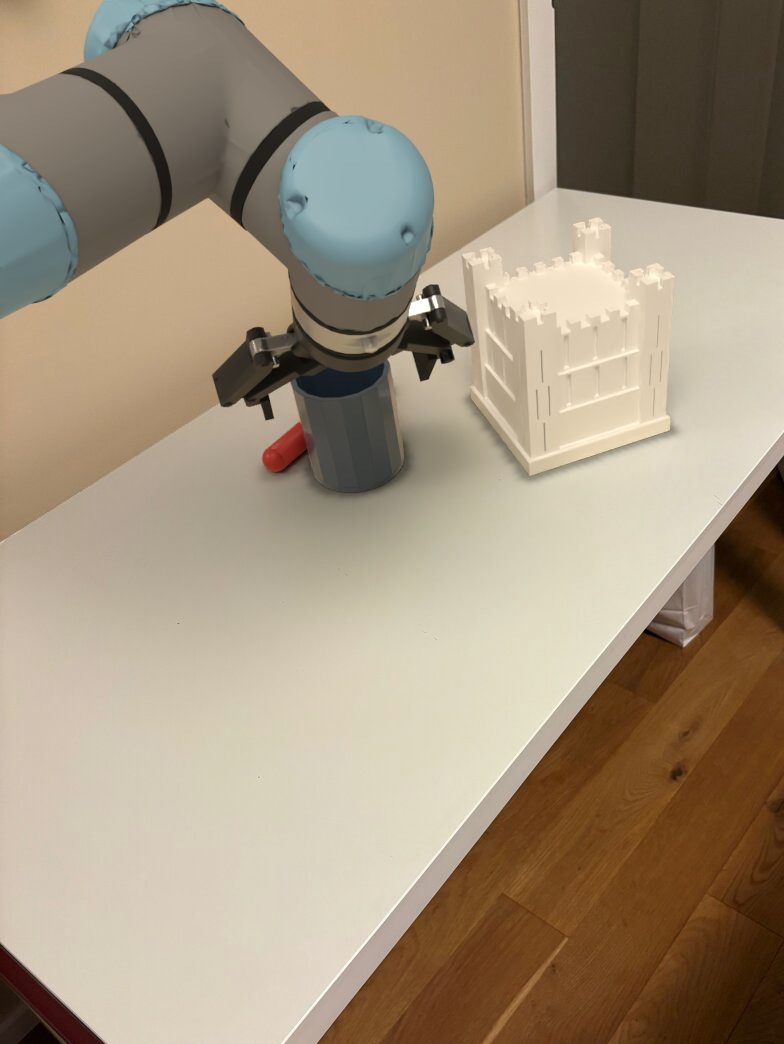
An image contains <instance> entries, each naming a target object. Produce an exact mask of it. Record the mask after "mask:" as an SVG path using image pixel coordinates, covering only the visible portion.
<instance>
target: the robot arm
mask: <svg viewBox="0 0 784 1044" xmlns="http://www.w3.org/2000/svg"><path fill="white" fill-rule="evenodd" d="M427 164H428V163H426V160H425V158H424V157H423V155H422V153H421V152H420V150H419V148H417V146H416V145H415V144H414V143H413V142H412V140H410V138H409V137H408V136H406V135H405V134H404V133H403V132H402V131H400V130H399V129H397V128H396V127H394V126H393V125H390V124H386V123H385V122H382V121H378V120H376V119H371V118H368V117H365V116H363V115H355V114H354V115H352V114H349V115H348V114H347V115H339V114H338V113H337V112H336V111H334V110H331V108H329V106H327V105H326V104H325V102H323V101H322V100H321V99H320V98H319V97H318V96H317V95H316V94H315V93H314V92H313V91H312V90H311V89H310V88H309V87H308V86H307V85H306V84H304V82H302V80H301V79H300V78H299V77H298V76H296V75H295V74H294V73H293V72H292V71H291V70H290V69H289V68H288V67H287V66H286V65H285V64H284V63H283V62H282V61H281V60H280V59H279V58H278V57H276V56H275V54H274V53H273V52H271V50H269V48H268V47H267V46H265V45H264V43H262V41H260V40H259V39H258V38H257V37H256V36H255V34H253V33H252V32H251V31H250V30H249V29H248V27H247V26H246V24H245V22H244V21H243V20H242V19H241V18H240V17H239V16H238V14H237V13H236V12H233V11H232V10H230V9H228V8H227V7H226V6H225V5H224V4H223V3H219V2H218V1H217V0H102V2H101V3H100V4H99V5H98V8H97V9H96V10H95V13H94V15H93V17H92V20H91V21H90V23H89V26H88V28H87V32H86V35H85V39H84V43H83V62H81V63H79V64H76V65H74V66H72V67H70V68H67V69H65V70H63V71H61V72H58V73H56V74H54V75H52V76H49V77H46V78H44V79H42V80H40V81H38V82H35V83H32V84H30V85H28V86H25V87H22V88H21V89H18V90H16V91H13V92H11V93H3V94H0V320H2V319H4V318H6V317H8V316H10V315H11V314H14V313H16V312H17V311H20V310H22V309H23V308H26V307H27V306H29V305H33V304H39V303H42V302H44V301H47V300H48V299H50V298H53V297H54V295H56V294H57V293H59V292H60V291H62V290H63V289H64V288H66V287H67V286H68V284H70V283H72V282H73V281H75V280H76V279H78V278H79V277H81V276H82V275H84V274H86V273H87V272H89V271H90V270H92V269H94V268H95V267H97V266H98V265H100V264H102V263H103V262H105V261H106V260H108V259H109V258H111V257H113V256H114V255H115V254H117V253H120V252H121V251H123V250H124V249H125V248H127V247H128V246H131V244H133V243H135V242H136V241H138V240H139V239H141V238H143V237H144V236H146V235H148V234H150V233H152V232H153V231H155V230H156V229H158V228H160V227H162V226H163V225H164V224H166V223H168V222H170V221H171V220H173V219H175V218H177V217H178V216H180V215H181V214H183V213H185V212H187V211H188V210H190V209H192V208H193V207H195V206H197V205H199V204H200V203H201V202H203V201H205V200H208V199H209V200H210V201H211V202H212V203H214V204H215V205H216V206H217V207H218V208H219V209H221V210H222V211H223V212H224V214H226V215H228V216H229V217H230V219H232V220H233V221H235V222H236V223H237V225H239V226H240V227H241V228H242V229H243V230H244V231H246V232H248V233H249V234H250V235H251V236H252V237H253V238H254V239H256V241H257V242H259V244H260V245H262V246H263V247H264V248H265V249H266V250H267V251H268V252H269V253H270V254H272V256H274V258H275V259H277V260H278V261H279V262H280V263H281V264H282V265H283V266H284V267H285V268H286V269H287V275H288V280H289V293H290V303H291V314H292V315H291V316H292V322H291V323H290V324H289V325H288V326H287V328H286V333H282V334H275V335H272V333H271V332H270V331H265V328H264V326H254V327H251V328H250V329H248V330H246V333H245V334H246V335H245V341H243V342H242V344H241V345H239V346H238V347H237V348H236V350H234V351H233V353H232V354H231V355H229V356H228V358H226V360H225V361H224V362H223V363H222V364H221V365H220V366H219V367H218V368H217V369H216V370H215V371H214V372H213V373H212V374H211V377H212V382H213V384H214V388H215V391H216V395H217V398H218V402H219V405H220V407H221V408H230V407H233V406H234V405H236V404H237V403H238V402H239V401H241V399H242V400H243V402H244V403H245V406H246V407H247V408H251V407H255V406H259V405H260V406H261V409H262V413H263V416H264V421H271V420H274V419H275V416H274V411H273V405H272V402H271V399H270V398H271V397H270V394H272V393H274V392H276V391H277V390H278V389H281V388H282V387H284V386H286V385H288V384H289V383H290V381H292V380H294V379H296V378H297V377H299V376H313V375H316V374H317V373H319V372H321V371H323V370H324V369H326V368H328V367H329V368H332V369H335V370H338V371H344V372H360V371H365V370H368V369H371V368H374V367H376V366H378V365H380V364H381V363H383V362H384V361H385V360H387V359H388V360H389V359H390V357H391V356H392V357H393V356H395V355H398V354H400V353H402V352H411V354H412V357H413V361H414V364H415V368H416V371H417V375H418V379H419V381H420V382H425V381H429V380H430V378H431V375H432V372H433V371H434V370H433V369H434V368H435V366H436V363H437V361H438V360H440V364H441V365H447V364H450V363H452V362H454V361H455V360H456V359H455V355H454V351H453V348H452V346H453V345H457V346H459V347H460V348H469V347H470V346H471V345H473V344H474V343H475V340H474V336H473V333H472V329H471V326H470V322H469V319H468V315H467V310H464V309H463V308H461V307H460V306H458V305H457V304H455V303H454V302H452V301H451V300H449V299H448V298H446V297H445V296H443V294H442V292H441V289H440V285H439V284H438V283H436V284H435V283H434V284H433V283H432V284H431V283H430V284H428V285H425V287H423V288H422V290H421V293H420V294H417V295H416V296H415V301H413V299H414V295H415V292H416V288H417V285H418V281H419V278H420V274H421V271H422V269H423V267H424V265H425V264H426V261H427V254H428V253H429V252H430V251H431V248H432V247H431V246H432V240H433V236H434V223H435V222H434V211H435V190H434V184H433V183H434V182H433V179H432V174H431V171H430V169H429V167H428V165H427ZM313 359H315V360H314V361H313Z"/></svg>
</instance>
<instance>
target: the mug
mask: <svg viewBox="0 0 784 1044" xmlns="http://www.w3.org/2000/svg"><path fill="white" fill-rule="evenodd" d="M314 360H315V359H313V361H314ZM289 383H290V387H291V391H292V395H293V399H294V403H295V406H296V411H297V415H298V419H299V421H300V423H301V427H302V431H303V435H304V439H305V443H306V447H307V449H306V450H307V454H308V458H309V462H310V466H311V469H312V473H313V476H314V478H315V479H316V481H317V482H318V483H319V484H320V485H322V486H323V487H325V488H326V489H328V490H332V491H335V492H339V493H351V494H352V493H362V492H367V491H371V490H374V489H376V488H379V487H381V486H384V485H385V484H387V483H388V482H390V481H391V480H392V479H394V478H395V477H396V476H397V475H398V474H399V472H400V471H401V469H402V467H403V465H404V462H405V454H404V452H405V449H404V443H403V437H402V436H403V435H402V430H401V424H400V418H399V410H398V405H397V399H396V393H395V392H396V391H395V386H394V380H393V374H392V368H391V364H390V362H389V358H388V359H387V360H385V361H384V362H383V363H381V364H380V365H378V366H376V367H374V368H371V369H368V370H365V371H360V372H344V371H338V370H335V369H332V368H329V367H328V368H326V369H324V370H323V371H321V372H319V373H317V374H316V375H313V376H299V377H297V378H296V379H294V380H292V381H290V382H289Z"/></svg>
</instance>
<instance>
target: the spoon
mask: <svg viewBox="0 0 784 1044" xmlns="http://www.w3.org/2000/svg"><path fill="white" fill-rule="evenodd" d="M306 450H307V447H306V443H305V439H304V435H303V431H302V427H301V423H300V420H299V421H298V422H297V423H296V424H294V425H293V426H292V427H290V429H288V430H287V431H286V432H285V433H283V435H281V436H280V437H279V438H278V439H276V440H275V441H274V442H273V443H272V444H270V445H269V446H268V447H267V448H265V449H264V451H263V453H262V456H261V461H262V465H263V466H264V468H265V469H266V470H268V471H270V472H272V473H273V472H274V473H278V472H281V471H283V470H284V469H286V467H288V466H289V465H290V464H291V463H292V462H293V461H295V459H297V458H298V457H299V456H301V454H303V453H304V452H305V451H306Z"/></svg>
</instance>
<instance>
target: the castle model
mask: <svg viewBox="0 0 784 1044" xmlns="http://www.w3.org/2000/svg"><path fill="white" fill-rule="evenodd" d="M478 254H479V257H476V253H475V252H474V251H470V252H467V253H462V254H461V263H462V264H461V265H462V273H463V275H462V276H463V285H464V294H465V295H464V296H465V304H466V312H467V315H468V319H469V322H470V326H471V329H472V333H473V336H474V340H475V343H474V344H473V345H471V346H469V347H470V355H471V367H472V376H473V377H472V378H473V384H471V385H469V393H470V399H471V401H472V402H473V404H475V406H476V407H477V408H478V410H479V411H480V412H481V414H482V415H483V416H484V418H485V419H486V420H487V421H488V423H489V425H491V427H492V428H493V429H494V431H495V432H496V433H497V435H498V436H499V438H500V439H501V440H502V442H503V443H504V444H505V446H506V447H507V448H508V450H509V451H510V452H511V453H512V455H513V456H514V457H515V459H516V461H518V463H519V464H520V466H521V467H522V468H523V469H524V470H525V472H526V473H527V474H528V476H529V477H532V476H534V475H537V474H541V473H544V472H547V471H550V470H553V469H556V468H558V467H559V468H560V467H562V466H565V465H568V464H571V463H574V462H577V461H580V460H583V459H586V458H590V457H592V456H595V455H599V454H602V453H605V452H607V451H611V450H614V449H617V448H620V447H623V446H626V445H630V444H633V443H635V442H639V441H642V440H645V439H647V438H651V437H654V436H657V435H660V434H663V433H666V432H669V431H671V421H672V420H671V419H672V418H671V416H670V415H669V414H668V413H667V398H668V384H669V369H670V354H671V353H670V352H671V341H672V325H673V313H674V298H675V297H674V296H675V285H676V284H675V283H676V276H675V275H673V274H672V273H671V272H670V271H668V270H667V271H665V268H664V267H663V266H662V265H661V264H659V263H658V262H656V263H652V264H648V265H646V266H645V269H643V268H641V267H638V268H635V269H632V270H631V269H630V270H629V275H628V277H626V278H625V272H624V271H623V270H622V269H620V268H618V269H616V268H615V267H616V265H615V264H614V263H613V262H612V226H610V225H609V224H608V223H607V222H606V223H604V220H603V219H601V218H600V217H599V216H597V217H594V218H590V219H588V220H587V227H586V222H584V221H579V222H576V223H573V224H572V252H570V253H569V254H568V261H565V259H564V258H563V257H562V256H556V257H553V258H551V262H550V263H551V266H547V265H546V263H545V262H544V261H538V262H534V263H533V264H532V265H533V266H532V267H533V271H529V270H528V268H526V266H520V267H517V268H515V271H514V272H515V273H514V274H515V276H512V277H510V274H509V272H507V271H503V270H504V269H503V258H502V256H501V255H499V253H496V251H495V249H494V248H492V246H488V247H485V248H481V249H478Z"/></svg>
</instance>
